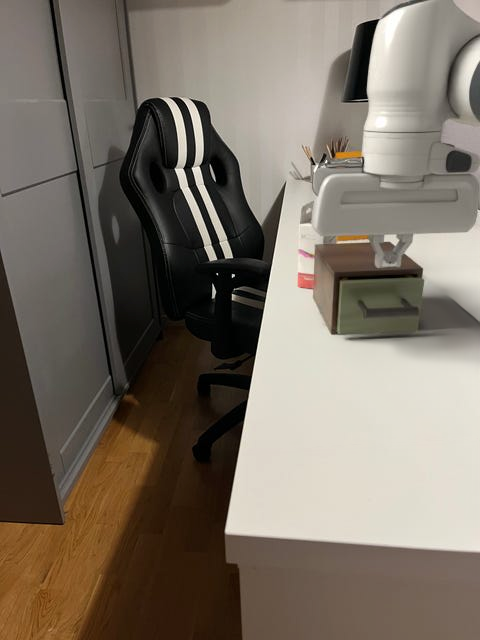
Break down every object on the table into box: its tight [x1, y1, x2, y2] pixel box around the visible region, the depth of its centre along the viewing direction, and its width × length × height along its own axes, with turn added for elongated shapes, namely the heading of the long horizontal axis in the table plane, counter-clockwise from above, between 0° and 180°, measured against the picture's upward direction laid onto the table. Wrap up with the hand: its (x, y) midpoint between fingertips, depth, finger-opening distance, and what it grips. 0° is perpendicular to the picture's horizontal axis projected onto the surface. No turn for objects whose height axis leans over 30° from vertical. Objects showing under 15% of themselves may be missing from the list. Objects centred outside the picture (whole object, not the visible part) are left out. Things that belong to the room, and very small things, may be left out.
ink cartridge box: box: [297, 200, 338, 290], centre depth 91 cm, size 9×5×15 cm, turn 154°
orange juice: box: [333, 150, 369, 242], centre depth 120 cm, size 8×9×20 cm
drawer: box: [337, 274, 425, 336], centre depth 74 cm, size 18×11×8 cm, turn 3°
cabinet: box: [312, 241, 424, 335], centre depth 78 cm, size 15×13×10 cm
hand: (387, 266), depth 66 cm, fingers closed
